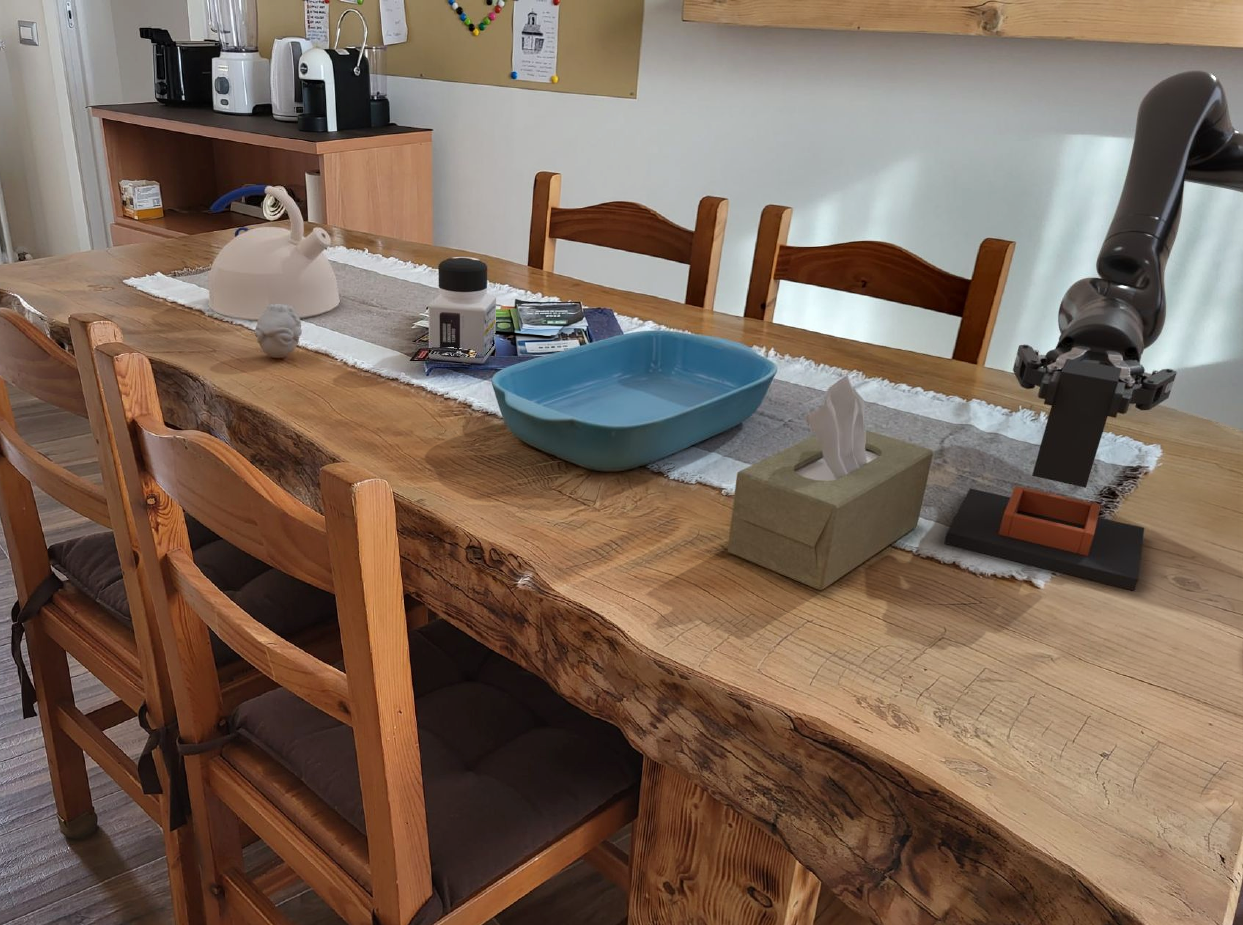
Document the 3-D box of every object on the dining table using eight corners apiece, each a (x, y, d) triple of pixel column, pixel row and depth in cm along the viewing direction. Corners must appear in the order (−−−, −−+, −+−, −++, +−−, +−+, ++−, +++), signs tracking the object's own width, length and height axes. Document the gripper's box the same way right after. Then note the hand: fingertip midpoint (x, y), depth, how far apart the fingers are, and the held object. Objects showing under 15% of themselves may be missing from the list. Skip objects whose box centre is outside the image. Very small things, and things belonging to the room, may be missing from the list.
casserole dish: (600, 502, 103) (605, 435, 99) (452, 438, 116) (452, 377, 113) (801, 417, 126) (810, 360, 123) (658, 371, 140) (663, 319, 137)
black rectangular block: (1090, 471, 96) (1121, 367, 92) (1085, 488, 93) (1118, 381, 88) (1038, 459, 98) (1066, 358, 94) (1031, 476, 95) (1061, 371, 90)
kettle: (296, 328, 153) (287, 201, 144) (180, 310, 159) (164, 188, 151) (365, 297, 170) (360, 182, 161) (257, 282, 176) (247, 171, 168)
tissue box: (828, 494, 106) (855, 344, 99) (919, 526, 100) (953, 369, 93) (723, 553, 94) (745, 387, 87) (819, 593, 88) (850, 418, 81)
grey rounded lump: (312, 351, 143) (308, 301, 140) (289, 366, 137) (285, 314, 134) (271, 347, 144) (267, 297, 141) (247, 361, 138) (242, 310, 135)
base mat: (1140, 538, 100) (1151, 506, 98) (1134, 591, 90) (1145, 556, 89) (967, 498, 107) (974, 468, 105) (944, 543, 97) (952, 511, 96)
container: (483, 364, 140) (484, 268, 135) (428, 359, 142) (427, 264, 136) (495, 348, 147) (497, 256, 141) (442, 344, 148) (442, 252, 142)
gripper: (1167, 401, 102) (1161, 459, 88) (1013, 373, 108) (985, 423, 95) (1192, 326, 98) (1189, 374, 85) (1031, 302, 104) (1005, 343, 91)
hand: (1082, 400), depth 90 cm, fingers closed on black rectangular block, 4 cm apart
